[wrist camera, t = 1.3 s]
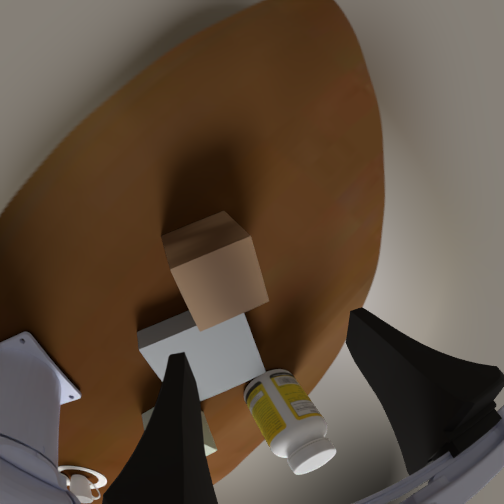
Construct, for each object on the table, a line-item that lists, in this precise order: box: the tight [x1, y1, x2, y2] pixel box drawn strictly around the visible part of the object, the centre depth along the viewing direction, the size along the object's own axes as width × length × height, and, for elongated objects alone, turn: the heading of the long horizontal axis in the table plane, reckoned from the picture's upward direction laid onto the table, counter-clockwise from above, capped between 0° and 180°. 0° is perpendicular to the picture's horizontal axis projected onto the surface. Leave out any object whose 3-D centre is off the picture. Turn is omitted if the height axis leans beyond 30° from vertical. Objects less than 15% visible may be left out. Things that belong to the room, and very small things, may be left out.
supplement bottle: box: [244, 369, 336, 475], centre depth 25 cm, size 6×6×10 cm
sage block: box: [142, 407, 217, 456], centre depth 24 cm, size 4×4×5 cm
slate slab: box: [137, 310, 266, 401], centre depth 23 cm, size 8×8×2 cm
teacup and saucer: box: [58, 466, 107, 503], centre depth 24 cm, size 9×8×4 cm
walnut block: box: [161, 211, 269, 332], centre depth 19 cm, size 4×4×5 cm
